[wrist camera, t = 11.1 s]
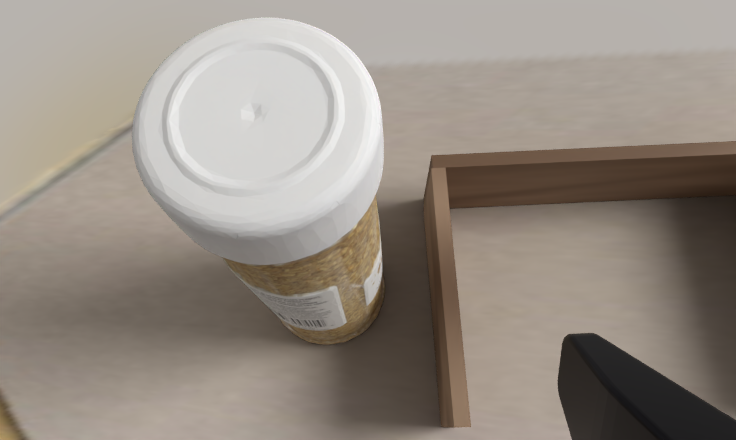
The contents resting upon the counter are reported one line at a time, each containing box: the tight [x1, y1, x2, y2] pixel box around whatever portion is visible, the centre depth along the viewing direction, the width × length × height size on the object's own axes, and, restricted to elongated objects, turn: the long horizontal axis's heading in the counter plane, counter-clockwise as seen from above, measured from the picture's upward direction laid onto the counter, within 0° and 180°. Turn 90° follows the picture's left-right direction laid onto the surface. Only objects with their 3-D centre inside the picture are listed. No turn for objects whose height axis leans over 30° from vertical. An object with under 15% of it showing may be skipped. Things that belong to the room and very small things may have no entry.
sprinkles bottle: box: [132, 17, 385, 345], centre depth 16 cm, size 5×5×13 cm
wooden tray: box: [423, 141, 736, 428], centre depth 20 cm, size 9×14×4 cm, turn 92°
